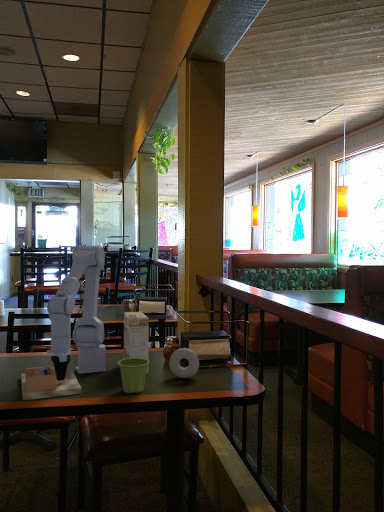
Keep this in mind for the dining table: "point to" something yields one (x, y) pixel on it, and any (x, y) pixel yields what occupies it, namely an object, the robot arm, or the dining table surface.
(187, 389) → the dining table surface
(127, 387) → the plant pot
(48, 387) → the light brown open box
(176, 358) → the donut
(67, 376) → the board
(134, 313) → the coffeecake box
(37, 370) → the peg
